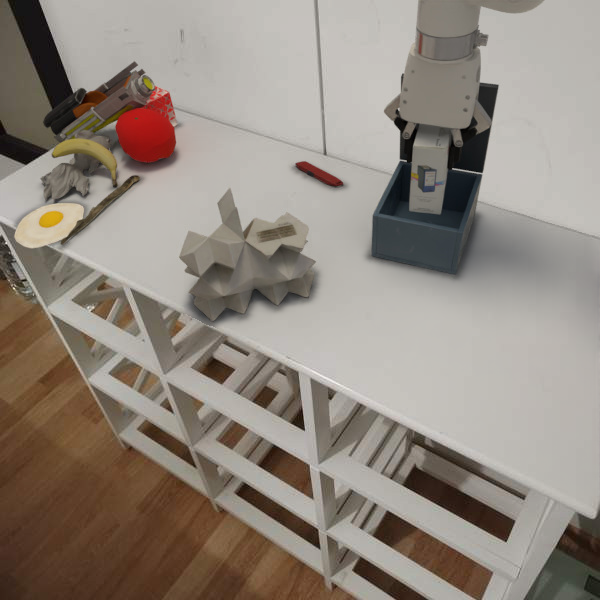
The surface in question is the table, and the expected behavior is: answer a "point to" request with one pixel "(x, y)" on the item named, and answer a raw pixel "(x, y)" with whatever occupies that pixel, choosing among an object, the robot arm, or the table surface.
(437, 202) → the ink box
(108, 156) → the fruit
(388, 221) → the storage bin
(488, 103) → the box lid
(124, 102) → the toy blaster gun
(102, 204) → the wooden stick
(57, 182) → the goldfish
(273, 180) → the table surface
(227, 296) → the white crumpled paper lump
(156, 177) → the table surface
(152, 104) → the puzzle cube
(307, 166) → the utility knife
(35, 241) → the cracked egg
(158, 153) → the tomato
